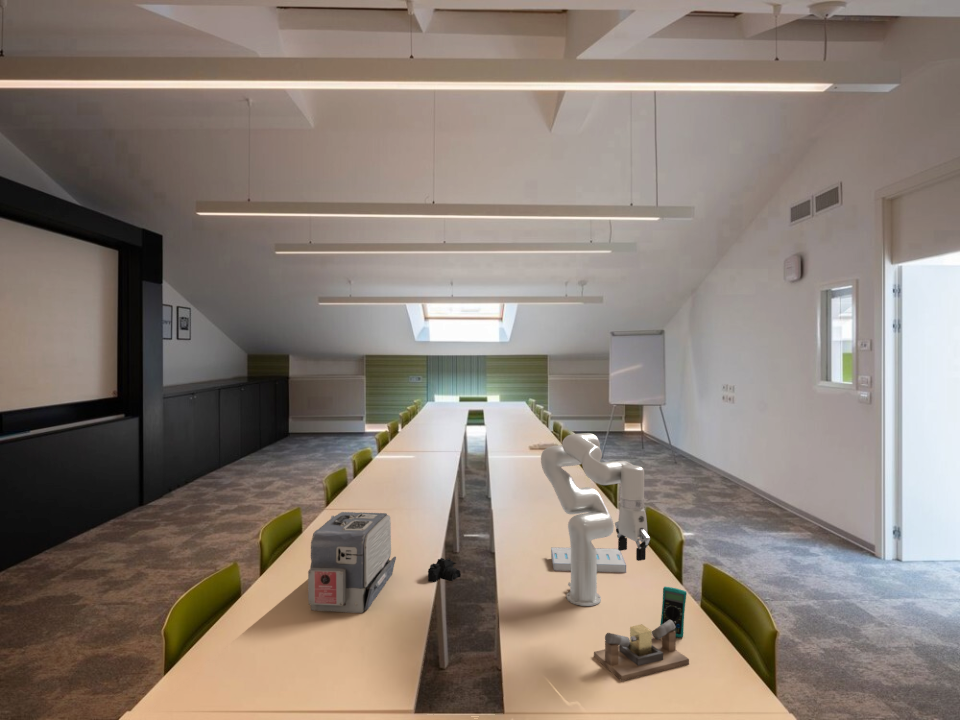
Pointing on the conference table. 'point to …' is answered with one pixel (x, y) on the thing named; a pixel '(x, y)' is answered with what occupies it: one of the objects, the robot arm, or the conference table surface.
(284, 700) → the conference table surface
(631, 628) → the block
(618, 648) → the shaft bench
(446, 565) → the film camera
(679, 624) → the digital multimeter
